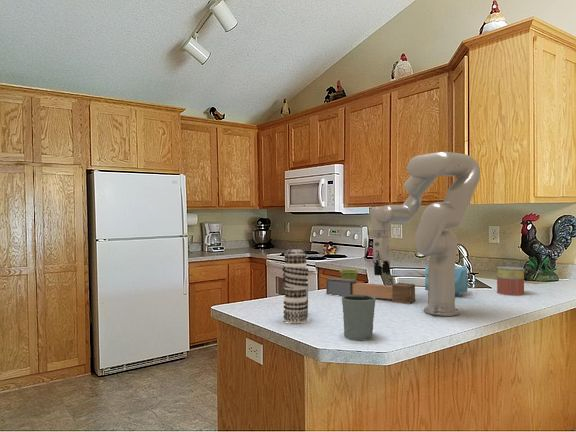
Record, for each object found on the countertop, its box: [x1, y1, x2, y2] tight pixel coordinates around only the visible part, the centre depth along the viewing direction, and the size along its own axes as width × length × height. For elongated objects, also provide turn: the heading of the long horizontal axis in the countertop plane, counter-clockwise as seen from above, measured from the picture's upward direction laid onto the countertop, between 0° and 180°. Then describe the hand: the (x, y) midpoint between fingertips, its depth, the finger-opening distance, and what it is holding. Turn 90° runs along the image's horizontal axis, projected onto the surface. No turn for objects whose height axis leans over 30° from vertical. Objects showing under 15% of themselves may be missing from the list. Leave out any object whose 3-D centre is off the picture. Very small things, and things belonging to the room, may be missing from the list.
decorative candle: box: [282, 248, 309, 324], centre depth 147 cm, size 9×9×25 cm
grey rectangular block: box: [325, 276, 358, 297], centre depth 195 cm, size 7×12×7 cm, turn 57°
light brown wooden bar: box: [351, 282, 392, 300], centre depth 186 cm, size 4×26×5 cm, turn 57°
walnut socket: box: [391, 282, 416, 305], centre depth 179 cm, size 7×8×7 cm
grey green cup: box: [341, 295, 377, 341], centre depth 129 cm, size 10×10×12 cm
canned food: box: [496, 265, 525, 297], centre depth 196 cm, size 11×11×12 cm
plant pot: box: [339, 269, 359, 279], centre depth 212 cm, size 9×9×9 cm
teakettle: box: [424, 263, 469, 297], centre depth 194 cm, size 19×19×15 cm
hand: (382, 274), depth 184 cm, fingers open, 9 cm apart
